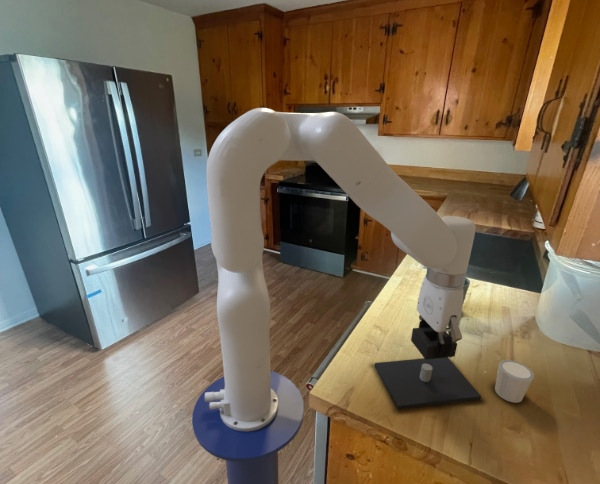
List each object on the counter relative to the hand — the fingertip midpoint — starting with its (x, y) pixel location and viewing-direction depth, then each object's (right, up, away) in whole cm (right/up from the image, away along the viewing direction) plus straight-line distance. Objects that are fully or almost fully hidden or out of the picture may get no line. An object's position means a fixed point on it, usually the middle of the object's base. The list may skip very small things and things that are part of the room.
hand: (432, 344), depth 76 cm
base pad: (0, -10, +4) cm, 11 cm away
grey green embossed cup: (+19, +2, +35) cm, 40 cm away
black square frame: (0, -1, 0) cm, 1 cm away
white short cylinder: (+18, -12, +1) cm, 22 cm away
